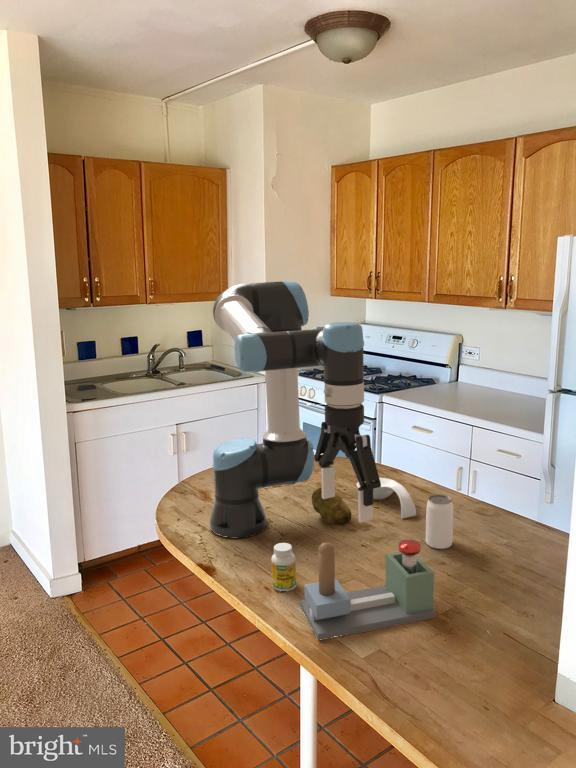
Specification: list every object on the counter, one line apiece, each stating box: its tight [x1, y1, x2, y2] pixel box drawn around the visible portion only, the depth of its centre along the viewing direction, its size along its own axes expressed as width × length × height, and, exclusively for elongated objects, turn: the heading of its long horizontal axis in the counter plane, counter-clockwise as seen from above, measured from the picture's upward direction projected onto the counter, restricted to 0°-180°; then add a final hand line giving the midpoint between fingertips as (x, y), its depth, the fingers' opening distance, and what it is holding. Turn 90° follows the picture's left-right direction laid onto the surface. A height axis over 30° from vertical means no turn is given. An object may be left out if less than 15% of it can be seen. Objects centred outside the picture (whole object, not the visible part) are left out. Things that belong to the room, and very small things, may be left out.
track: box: [299, 551, 436, 641], centre depth 129 cm, size 12×25×10 cm, turn 105°
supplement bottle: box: [270, 542, 297, 592], centre depth 140 cm, size 5×5×10 cm
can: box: [425, 494, 454, 550], centre depth 157 cm, size 6×6×12 cm
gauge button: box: [398, 539, 422, 574], centre depth 131 cm, size 4×4×9 cm
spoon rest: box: [356, 477, 417, 520], centre depth 183 cm, size 24×12×7 cm, turn 24°
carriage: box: [303, 542, 351, 621], centre depth 126 cm, size 8×7×15 cm
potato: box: [311, 487, 352, 526], centre depth 173 cm, size 8×13×8 cm, turn 20°
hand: (346, 508), depth 125 cm, fingers open, 13 cm apart
